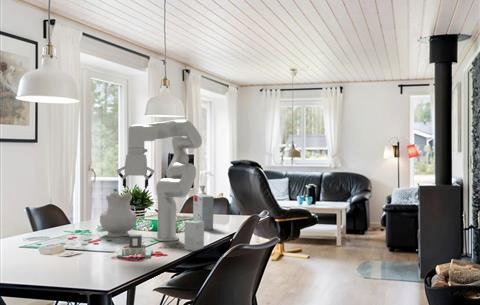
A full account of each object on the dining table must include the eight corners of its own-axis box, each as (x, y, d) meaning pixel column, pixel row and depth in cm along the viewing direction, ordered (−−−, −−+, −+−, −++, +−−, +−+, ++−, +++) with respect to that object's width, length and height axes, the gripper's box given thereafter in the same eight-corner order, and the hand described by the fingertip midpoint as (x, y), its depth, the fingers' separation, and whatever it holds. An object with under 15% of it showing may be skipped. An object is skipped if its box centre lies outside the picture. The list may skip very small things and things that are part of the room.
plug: (130, 250, 227) (130, 234, 227) (141, 250, 228) (141, 234, 228) (128, 252, 222) (129, 236, 222) (140, 252, 223) (140, 236, 223)
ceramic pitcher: (93, 235, 281) (91, 190, 280) (126, 230, 293) (124, 186, 291) (109, 241, 264) (106, 193, 262) (143, 235, 275) (141, 189, 274)
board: (121, 251, 232) (121, 243, 232) (152, 251, 233) (152, 243, 233) (116, 258, 218) (116, 249, 218) (150, 257, 219) (150, 249, 219)
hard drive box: (192, 226, 314) (193, 194, 314) (204, 226, 317) (204, 194, 317) (201, 230, 300) (202, 196, 300) (213, 229, 303) (214, 196, 303)
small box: (192, 246, 247) (193, 219, 247) (204, 248, 244) (204, 220, 244) (183, 249, 240) (184, 221, 240) (195, 250, 237) (196, 222, 237)
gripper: (155, 151, 246) (154, 187, 246) (118, 151, 244) (117, 187, 244) (154, 151, 238) (153, 188, 238) (116, 151, 237) (115, 188, 237)
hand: (135, 187), depth 241 cm, fingers open, 9 cm apart
